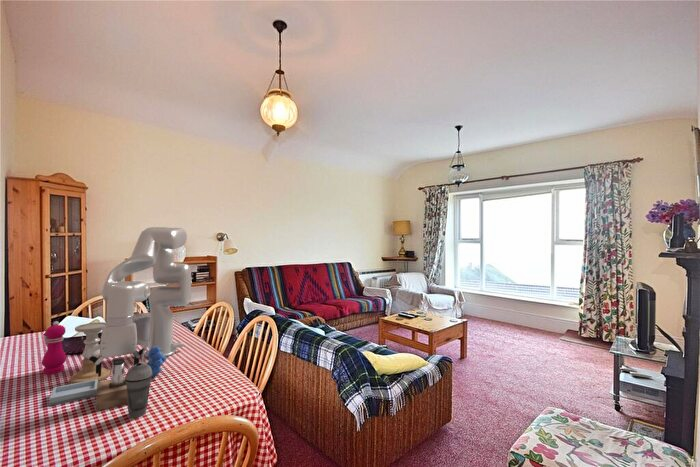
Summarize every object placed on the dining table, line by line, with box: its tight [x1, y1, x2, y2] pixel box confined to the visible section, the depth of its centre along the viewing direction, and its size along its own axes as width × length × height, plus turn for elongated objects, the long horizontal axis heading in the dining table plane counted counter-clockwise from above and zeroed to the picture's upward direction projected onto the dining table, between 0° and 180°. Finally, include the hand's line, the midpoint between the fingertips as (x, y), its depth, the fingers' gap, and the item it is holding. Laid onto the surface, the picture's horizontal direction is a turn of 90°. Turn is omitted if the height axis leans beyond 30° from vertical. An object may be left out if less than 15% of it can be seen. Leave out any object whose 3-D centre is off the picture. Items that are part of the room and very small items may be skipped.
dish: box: [48, 379, 98, 407], centre depth 109 cm, size 12×9×2 cm
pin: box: [111, 356, 125, 388], centre depth 108 cm, size 3×3×14 cm
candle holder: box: [68, 321, 111, 385], centre depth 123 cm, size 12×12×20 cm
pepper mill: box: [41, 320, 67, 376], centre depth 128 cm, size 7×7×20 cm
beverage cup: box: [125, 349, 153, 419], centre depth 99 cm, size 7×7×20 cm
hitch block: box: [95, 376, 128, 412], centre depth 108 cm, size 11×11×5 cm
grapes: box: [146, 347, 168, 378], centre depth 127 cm, size 12×7×12 cm, turn 49°
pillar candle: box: [134, 312, 150, 343], centre depth 166 cm, size 10×10×15 cm
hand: (117, 372), depth 108 cm, fingers open, 9 cm apart
